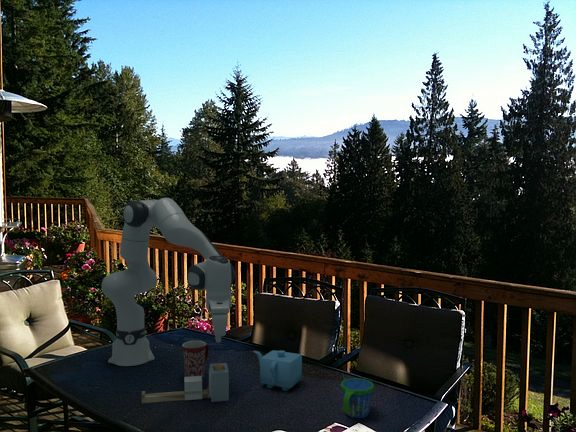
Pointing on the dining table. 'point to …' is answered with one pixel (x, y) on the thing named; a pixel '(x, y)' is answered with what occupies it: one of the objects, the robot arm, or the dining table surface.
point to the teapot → (280, 369)
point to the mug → (195, 358)
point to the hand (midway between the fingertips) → (218, 341)
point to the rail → (169, 396)
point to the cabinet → (219, 383)
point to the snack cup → (357, 397)
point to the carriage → (193, 387)
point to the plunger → (219, 367)
